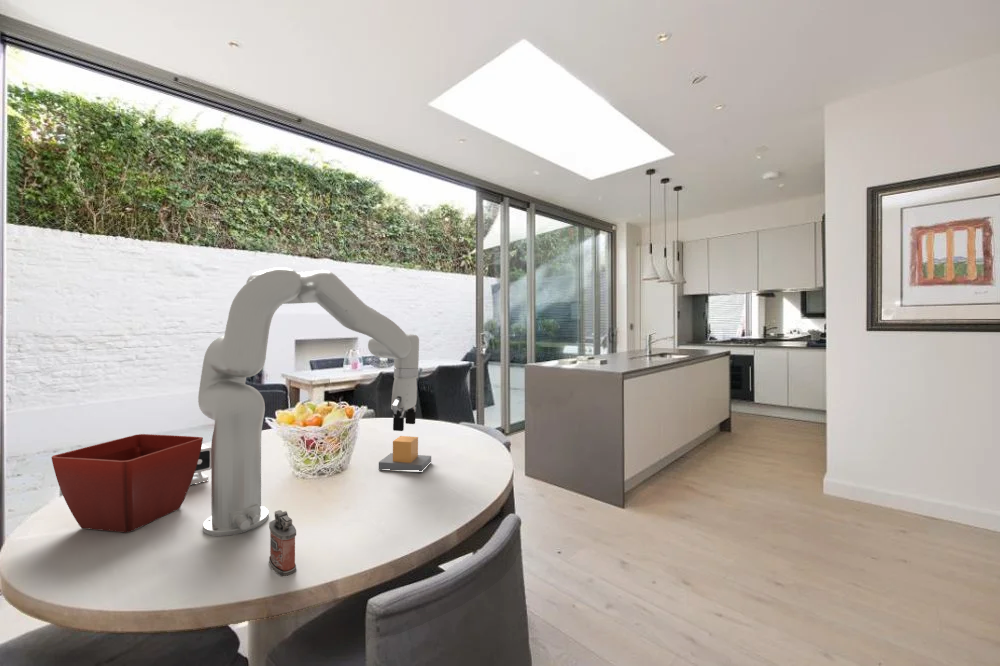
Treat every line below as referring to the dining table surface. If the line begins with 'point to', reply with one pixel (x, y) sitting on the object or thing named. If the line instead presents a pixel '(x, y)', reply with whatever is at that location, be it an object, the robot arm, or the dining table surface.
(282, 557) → the lighter
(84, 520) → the plant pot
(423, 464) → the grey platform with peg
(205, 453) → the security camera
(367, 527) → the dining table surface
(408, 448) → the wooden cube
